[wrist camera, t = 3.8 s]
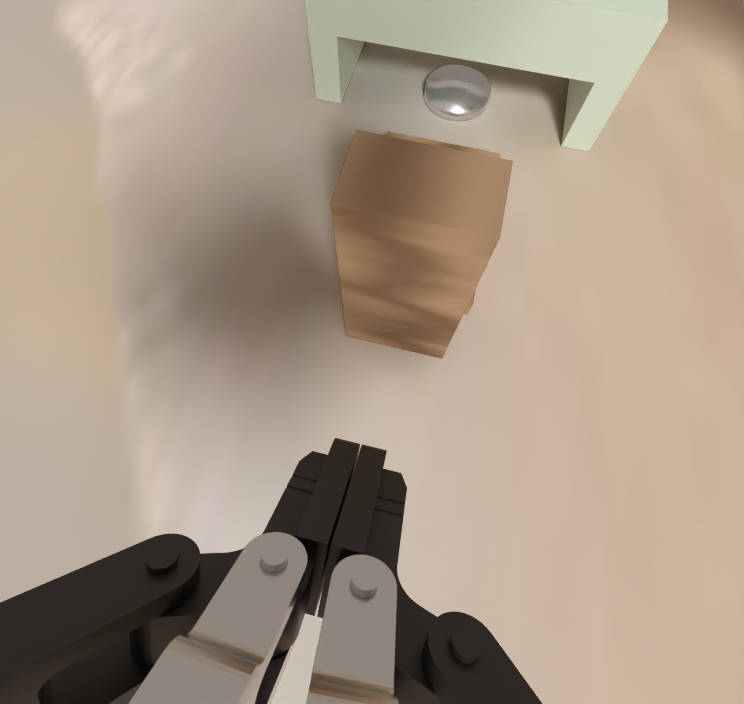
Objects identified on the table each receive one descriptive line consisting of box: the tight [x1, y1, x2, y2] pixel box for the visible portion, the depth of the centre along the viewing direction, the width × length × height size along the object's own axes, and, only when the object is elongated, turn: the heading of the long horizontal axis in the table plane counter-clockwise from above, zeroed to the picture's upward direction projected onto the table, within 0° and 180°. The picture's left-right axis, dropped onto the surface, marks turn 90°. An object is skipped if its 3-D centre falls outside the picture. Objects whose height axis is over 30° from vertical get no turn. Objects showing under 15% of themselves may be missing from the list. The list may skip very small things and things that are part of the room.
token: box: [424, 64, 491, 121], centre depth 33 cm, size 5×5×1 cm
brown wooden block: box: [331, 130, 513, 358], centre depth 23 cm, size 8×15×12 cm, turn 166°
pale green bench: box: [304, 0, 668, 151], centre depth 30 cm, size 21×8×9 cm, turn 76°
